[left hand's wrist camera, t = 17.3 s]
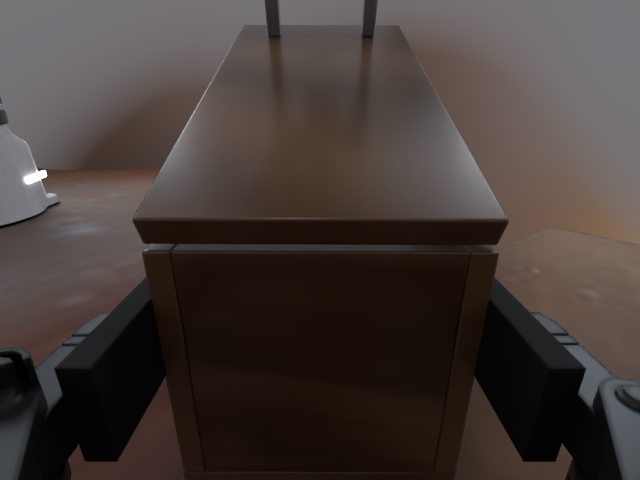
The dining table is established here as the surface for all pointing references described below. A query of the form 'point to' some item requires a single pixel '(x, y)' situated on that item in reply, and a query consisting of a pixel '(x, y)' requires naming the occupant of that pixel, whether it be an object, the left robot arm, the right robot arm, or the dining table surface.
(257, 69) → the lid
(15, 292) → the dining table surface
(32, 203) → the right robot arm
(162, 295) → the chest
